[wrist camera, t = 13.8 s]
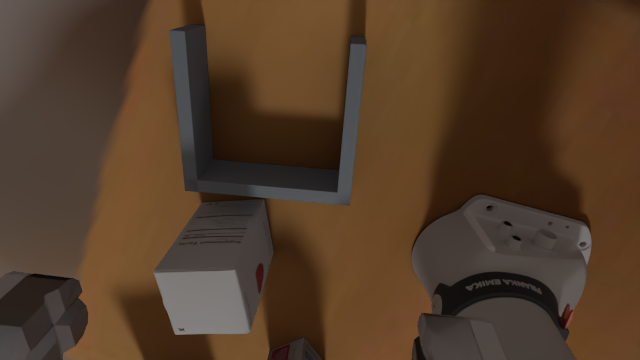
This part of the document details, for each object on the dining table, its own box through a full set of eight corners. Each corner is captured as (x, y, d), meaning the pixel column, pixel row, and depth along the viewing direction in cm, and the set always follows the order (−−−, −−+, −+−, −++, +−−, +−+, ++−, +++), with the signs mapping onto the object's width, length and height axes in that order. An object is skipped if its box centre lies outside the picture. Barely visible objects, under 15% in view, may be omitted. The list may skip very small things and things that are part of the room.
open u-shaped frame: (365, 37, 44) (366, 44, 38) (350, 182, 51) (349, 205, 46) (191, 24, 44) (169, 30, 39) (202, 169, 52) (185, 190, 47)
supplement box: (275, 253, 57) (251, 336, 44) (214, 255, 58) (172, 337, 45) (265, 197, 53) (236, 269, 40) (200, 200, 54) (150, 272, 41)
